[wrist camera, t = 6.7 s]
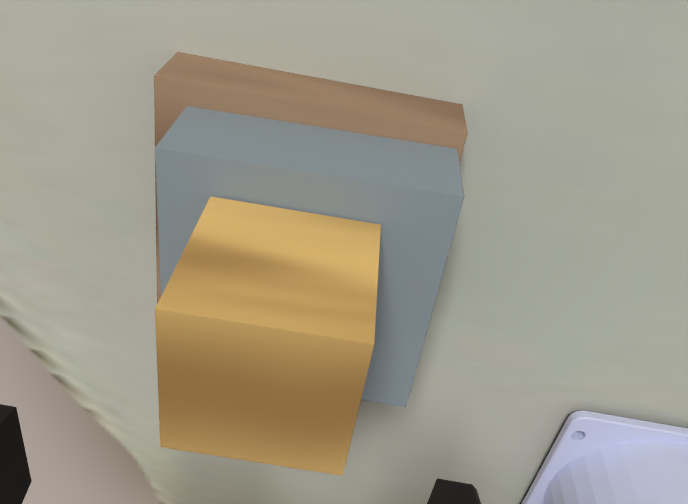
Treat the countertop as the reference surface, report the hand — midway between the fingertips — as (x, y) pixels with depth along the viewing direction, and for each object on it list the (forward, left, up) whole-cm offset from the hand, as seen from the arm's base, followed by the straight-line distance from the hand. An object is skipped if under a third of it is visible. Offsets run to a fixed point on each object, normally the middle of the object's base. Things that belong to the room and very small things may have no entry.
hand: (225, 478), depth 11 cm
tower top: (0, 0, -8) cm, 8 cm away
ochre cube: (0, 0, -6) cm, 6 cm away
